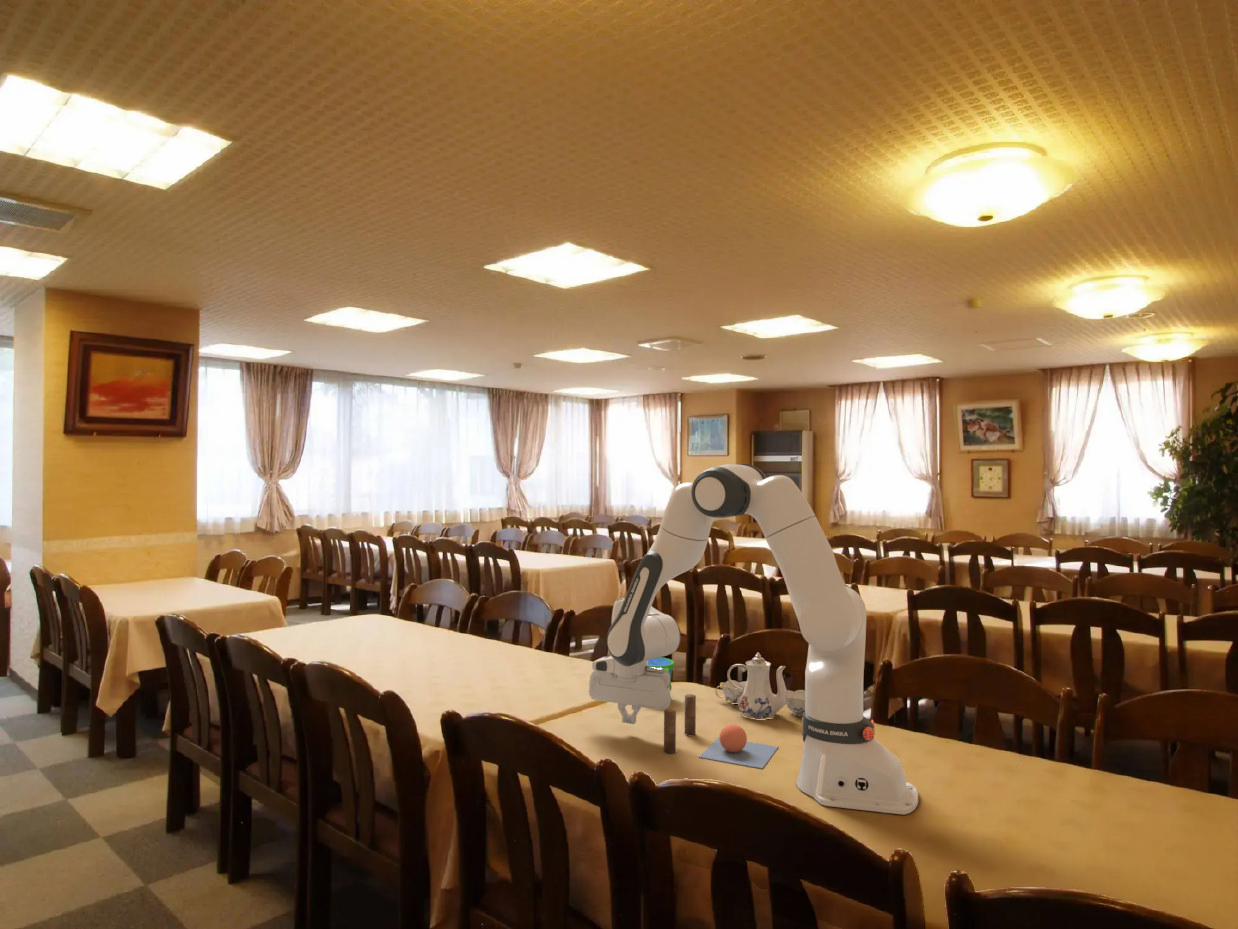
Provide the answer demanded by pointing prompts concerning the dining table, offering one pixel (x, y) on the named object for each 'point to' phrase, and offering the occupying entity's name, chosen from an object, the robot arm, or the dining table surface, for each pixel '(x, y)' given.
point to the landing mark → (740, 754)
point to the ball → (733, 738)
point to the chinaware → (761, 691)
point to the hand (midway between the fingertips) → (629, 722)
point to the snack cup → (662, 665)
